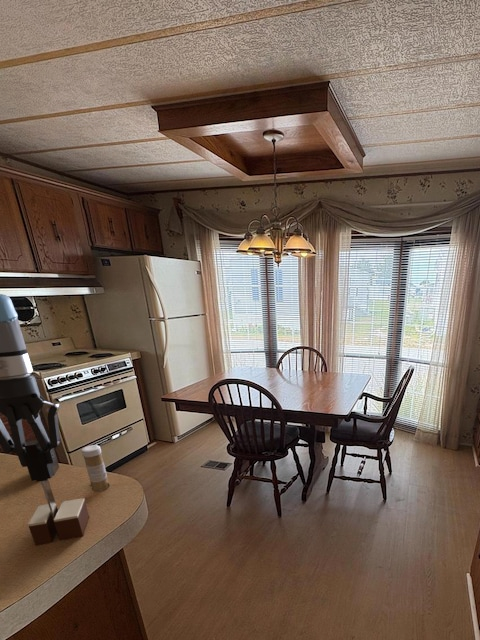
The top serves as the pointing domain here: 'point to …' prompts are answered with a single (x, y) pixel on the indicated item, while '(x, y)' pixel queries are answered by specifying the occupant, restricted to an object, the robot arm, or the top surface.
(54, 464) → the knife block
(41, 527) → the cake slice
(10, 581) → the top surface
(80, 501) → the cake
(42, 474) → the knife
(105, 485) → the sprinkles bottle
